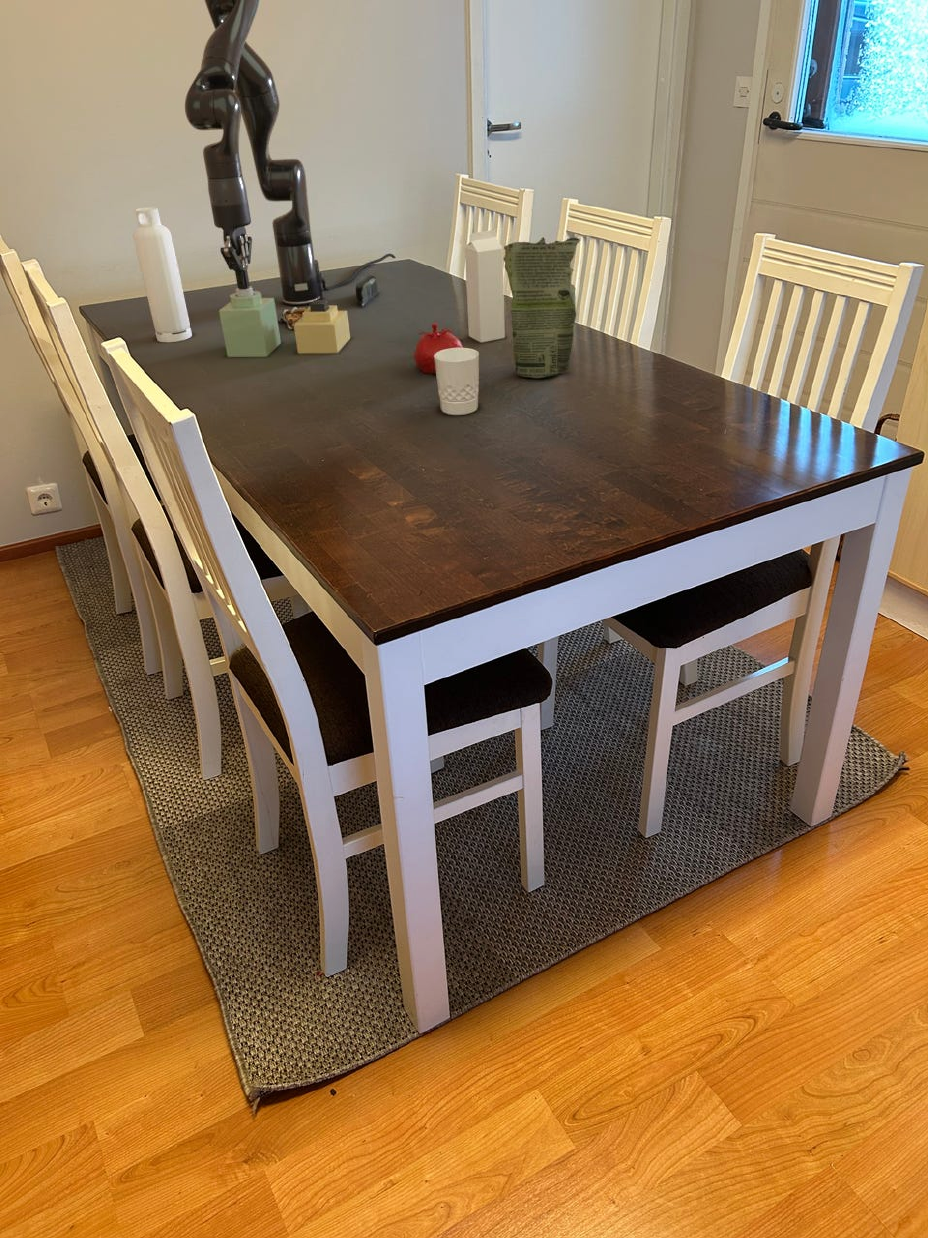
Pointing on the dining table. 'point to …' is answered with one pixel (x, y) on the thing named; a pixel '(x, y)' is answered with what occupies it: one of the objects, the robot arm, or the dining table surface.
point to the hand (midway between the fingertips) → (244, 287)
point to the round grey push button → (244, 292)
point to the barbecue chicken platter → (292, 316)
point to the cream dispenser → (322, 331)
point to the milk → (485, 287)
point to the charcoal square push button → (319, 306)
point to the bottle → (161, 277)
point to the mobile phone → (366, 290)
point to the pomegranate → (433, 348)
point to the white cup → (457, 380)
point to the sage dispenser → (250, 326)
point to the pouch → (541, 305)
